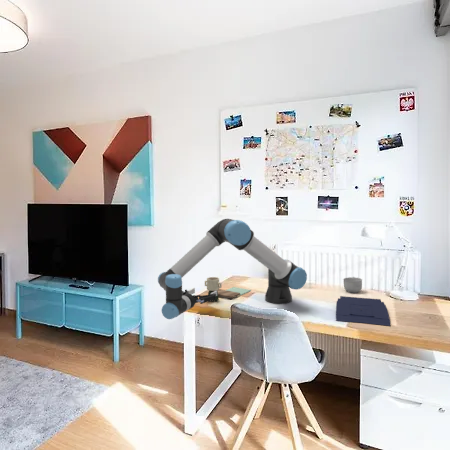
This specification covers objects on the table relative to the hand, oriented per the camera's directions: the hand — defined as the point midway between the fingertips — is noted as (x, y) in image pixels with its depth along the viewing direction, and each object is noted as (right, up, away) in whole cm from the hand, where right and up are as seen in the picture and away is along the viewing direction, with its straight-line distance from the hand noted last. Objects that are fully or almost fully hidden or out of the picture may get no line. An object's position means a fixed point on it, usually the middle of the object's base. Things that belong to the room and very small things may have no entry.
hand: (205, 291), depth 197 cm
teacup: (+90, -5, +28) cm, 94 cm away
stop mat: (+18, -5, +28) cm, 34 cm away
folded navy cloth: (+80, -9, -13) cm, 81 cm away
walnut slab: (+11, -6, +19) cm, 22 cm away
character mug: (+4, -7, +9) cm, 12 cm away
